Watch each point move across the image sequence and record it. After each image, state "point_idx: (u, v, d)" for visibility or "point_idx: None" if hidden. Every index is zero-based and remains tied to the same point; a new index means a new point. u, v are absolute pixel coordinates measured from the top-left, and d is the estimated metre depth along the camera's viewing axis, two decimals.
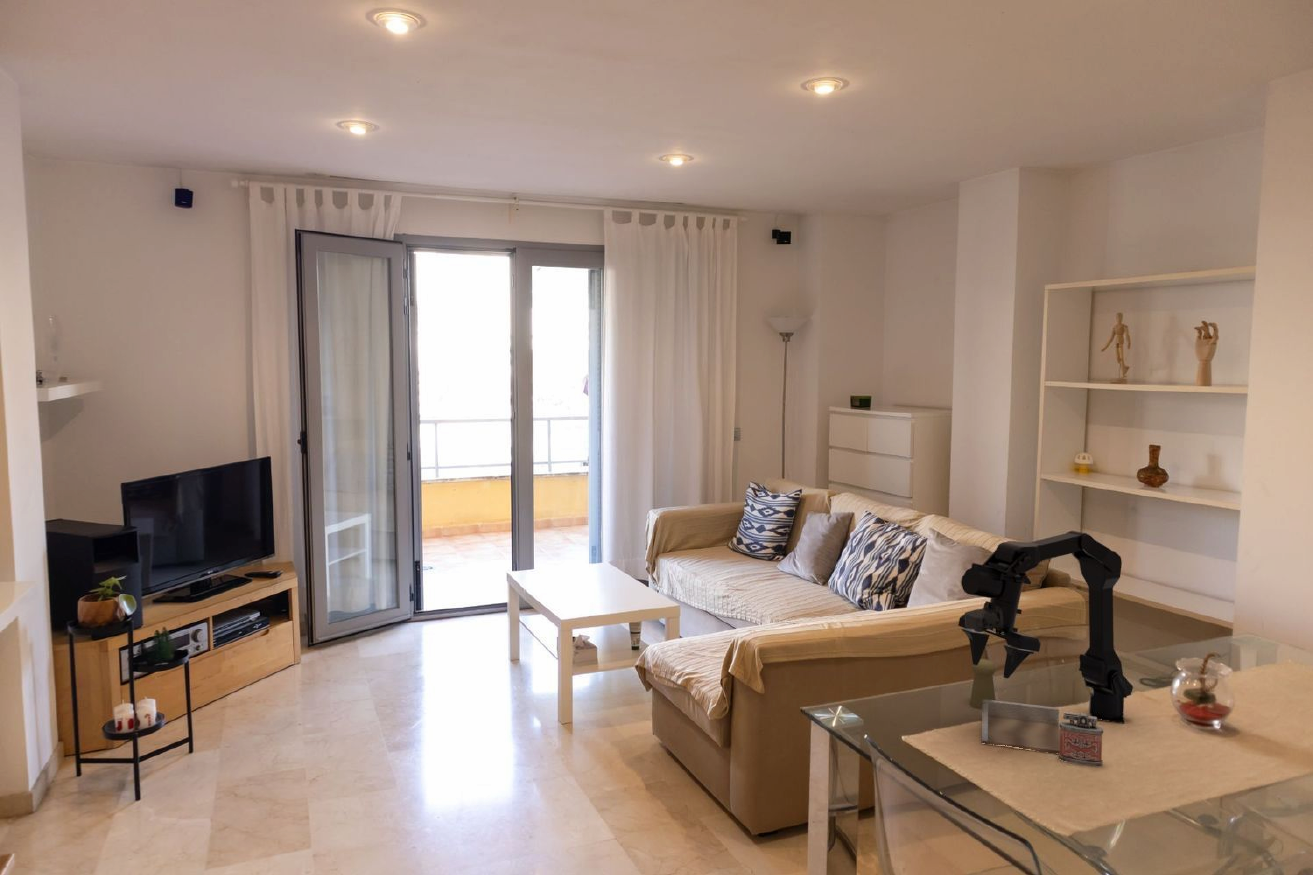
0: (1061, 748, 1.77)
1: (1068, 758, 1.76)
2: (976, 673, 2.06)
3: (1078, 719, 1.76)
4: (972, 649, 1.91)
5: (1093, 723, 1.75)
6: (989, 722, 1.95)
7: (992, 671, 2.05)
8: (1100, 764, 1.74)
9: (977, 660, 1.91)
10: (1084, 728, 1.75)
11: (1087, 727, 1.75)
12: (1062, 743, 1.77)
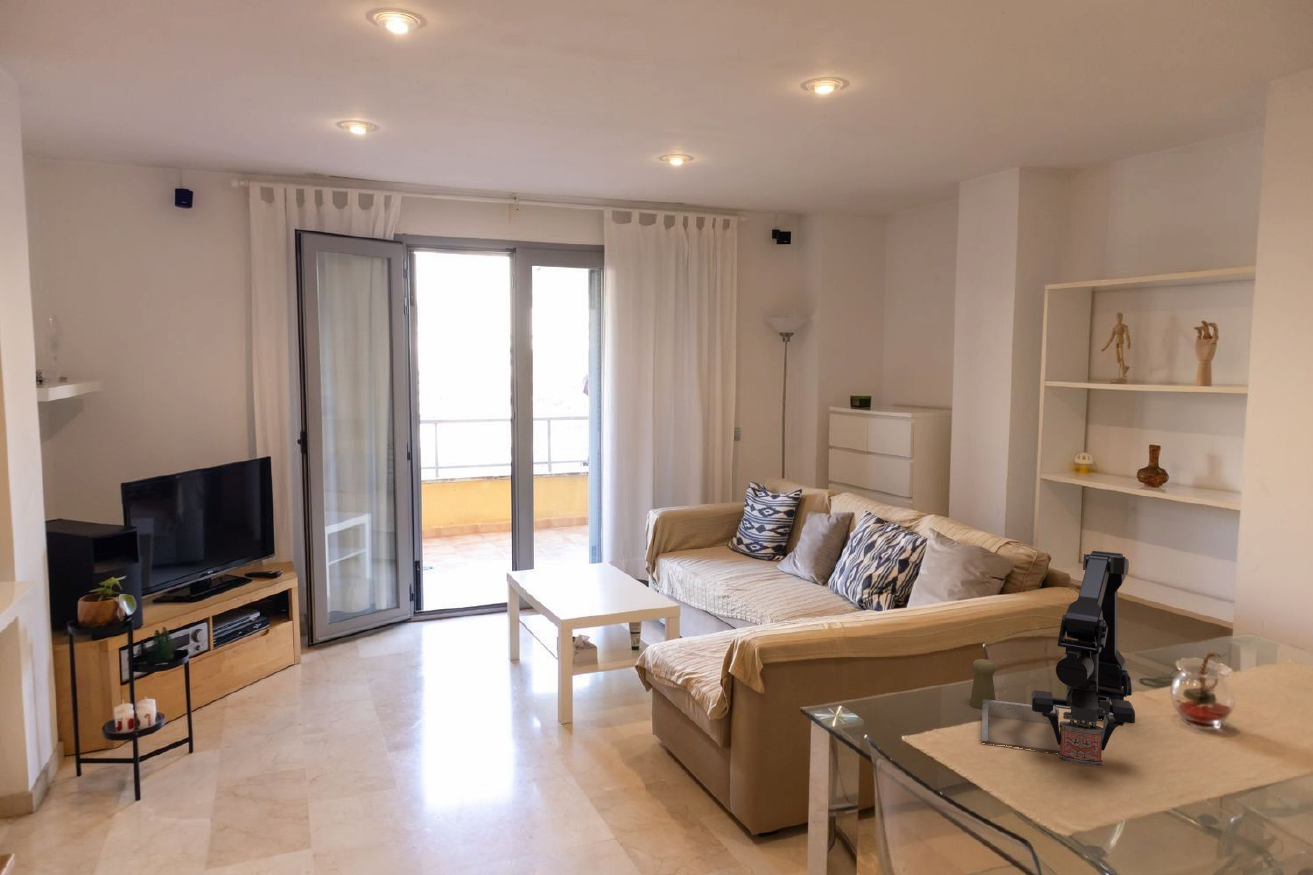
0: (1061, 748, 1.77)
1: (1068, 758, 1.76)
2: (976, 673, 2.06)
3: None
4: (1056, 730, 1.77)
5: (1093, 722, 1.75)
6: (989, 722, 1.95)
7: (992, 671, 2.05)
8: (1100, 764, 1.74)
9: None
10: (1084, 728, 1.75)
11: (1087, 727, 1.75)
12: (1062, 743, 1.77)
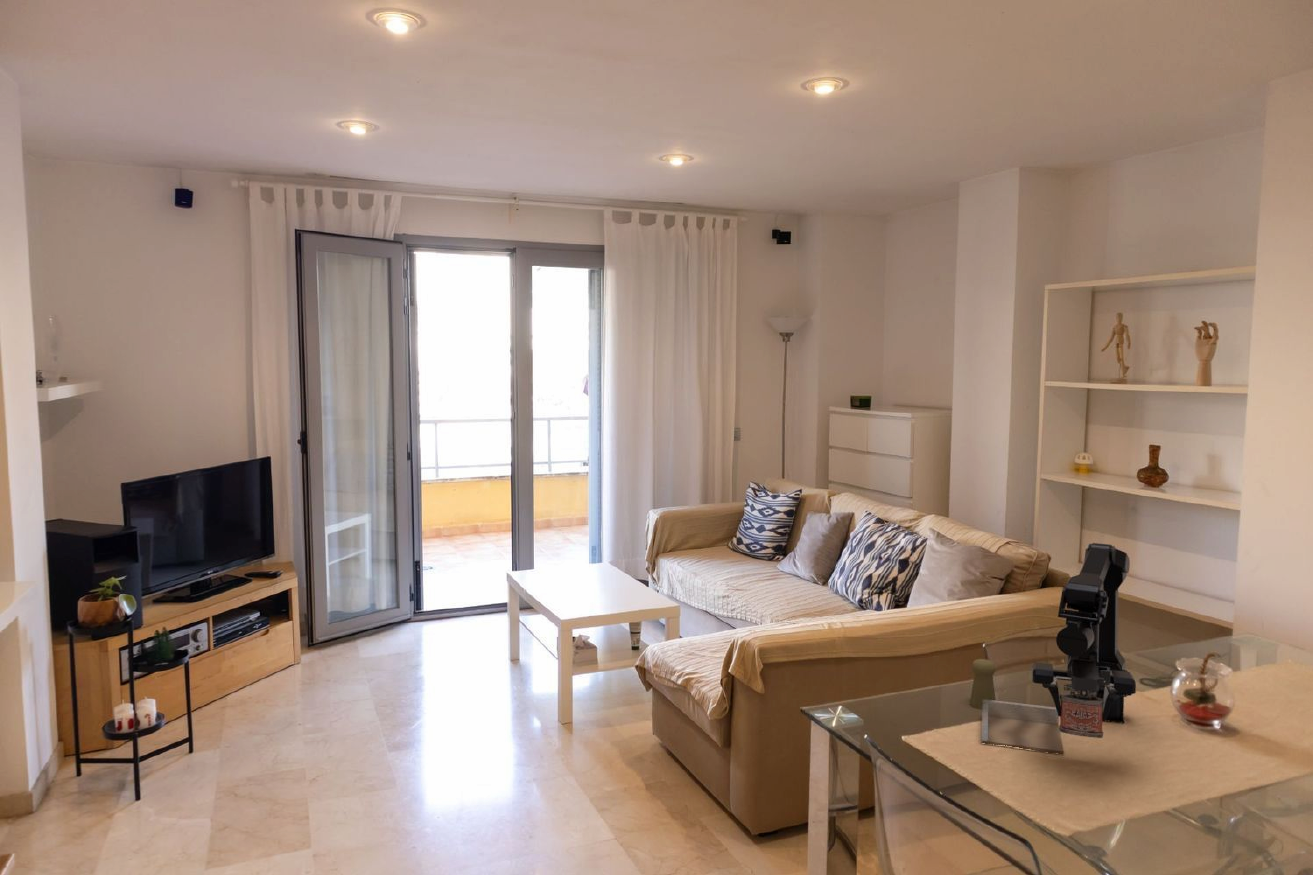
0: (1061, 720, 1.77)
1: (1068, 730, 1.76)
2: (976, 673, 2.06)
3: None
4: (1057, 702, 1.76)
5: (1094, 694, 1.74)
6: (989, 722, 1.95)
7: (992, 671, 2.05)
8: (1101, 735, 1.74)
9: None
10: (1085, 699, 1.74)
11: (1087, 699, 1.74)
12: (1062, 715, 1.76)
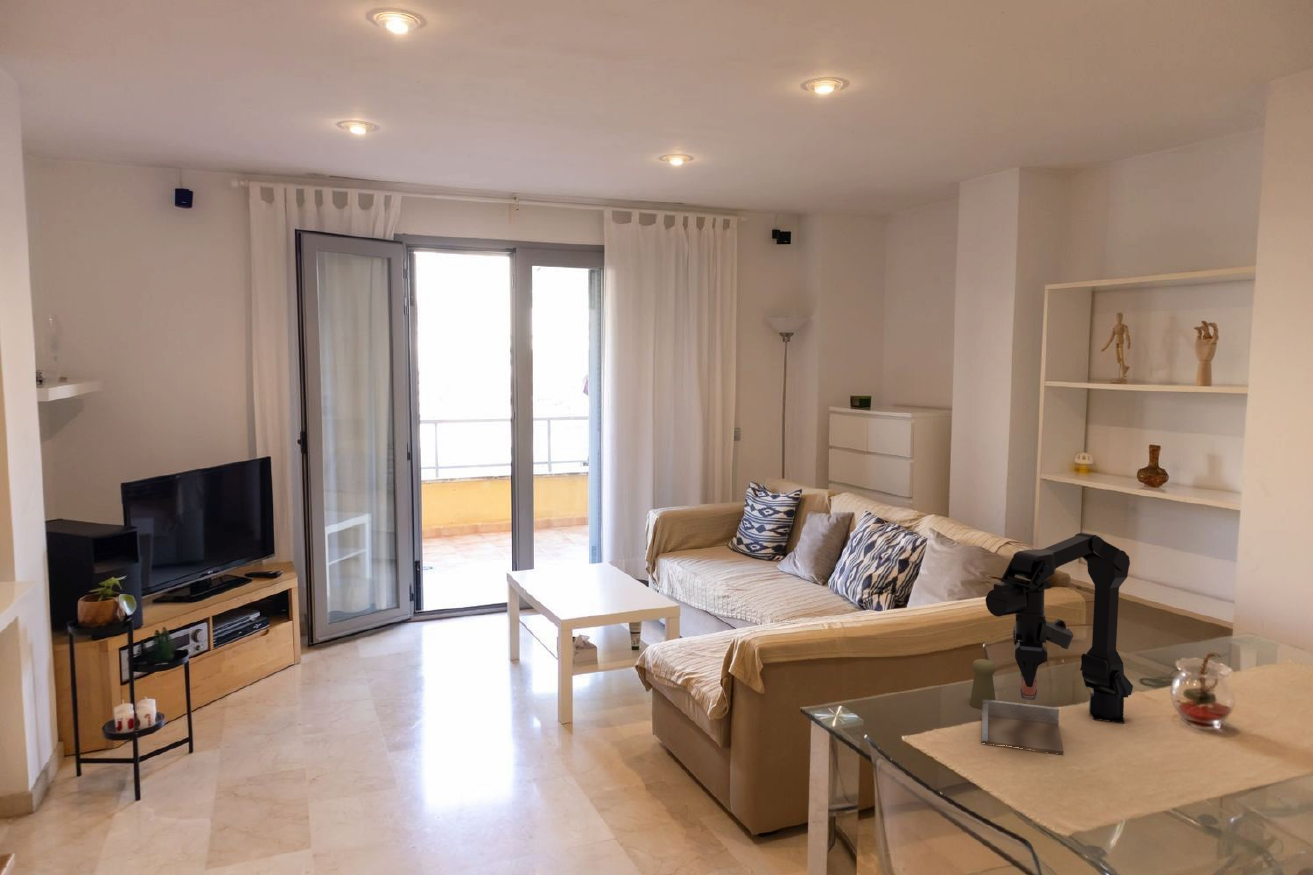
0: (1032, 689, 1.84)
1: (1035, 694, 1.85)
2: (976, 673, 2.06)
3: None
4: (1035, 673, 1.83)
5: None
6: (989, 722, 1.95)
7: (992, 671, 2.05)
8: None
9: None
10: None
11: None
12: None
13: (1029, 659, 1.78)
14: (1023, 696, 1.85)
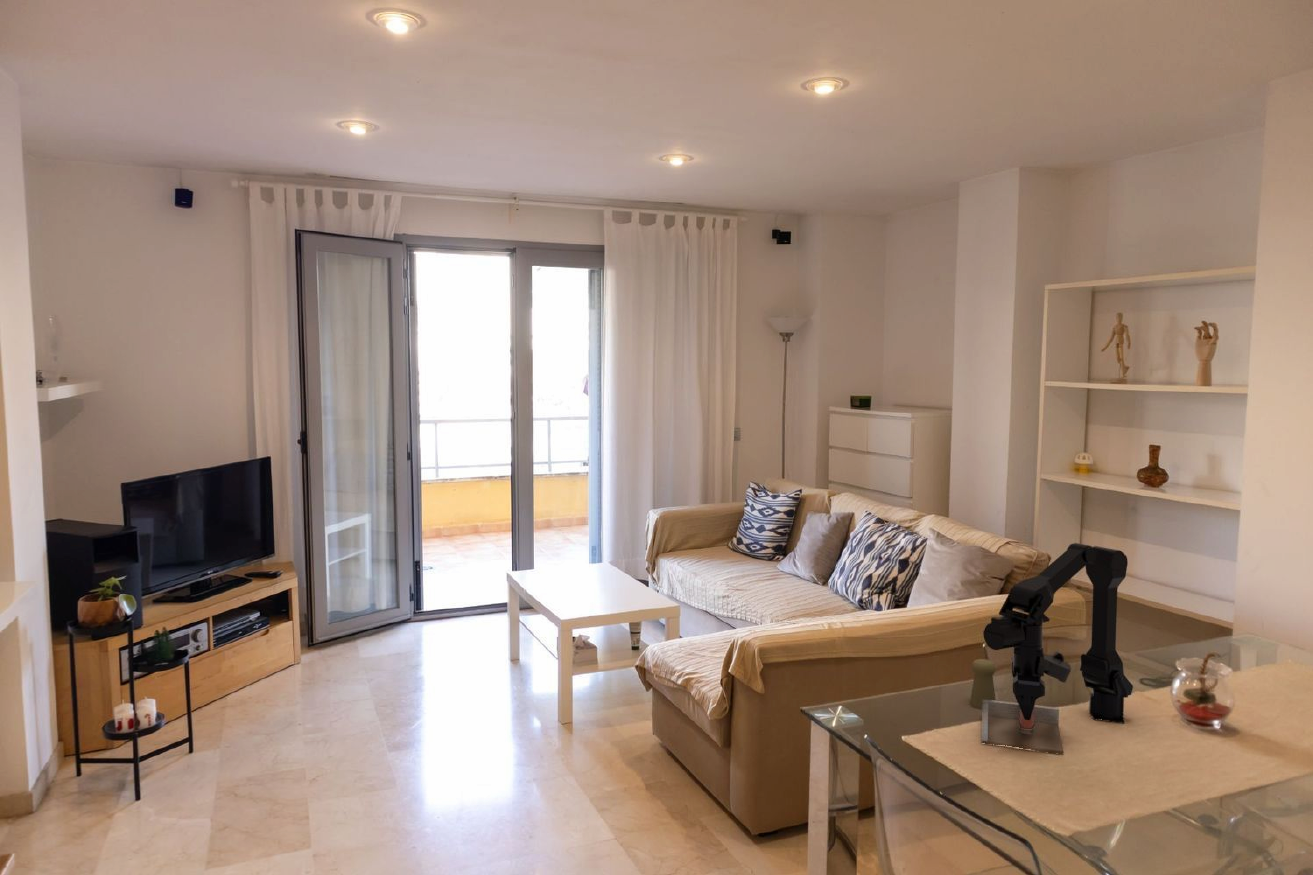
0: (1030, 722, 1.85)
1: (1033, 727, 1.86)
2: (976, 673, 2.06)
3: None
4: None
5: None
6: (989, 722, 1.95)
7: (992, 671, 2.05)
8: None
9: None
10: None
11: None
12: None
13: (1027, 693, 1.79)
14: (1021, 729, 1.86)
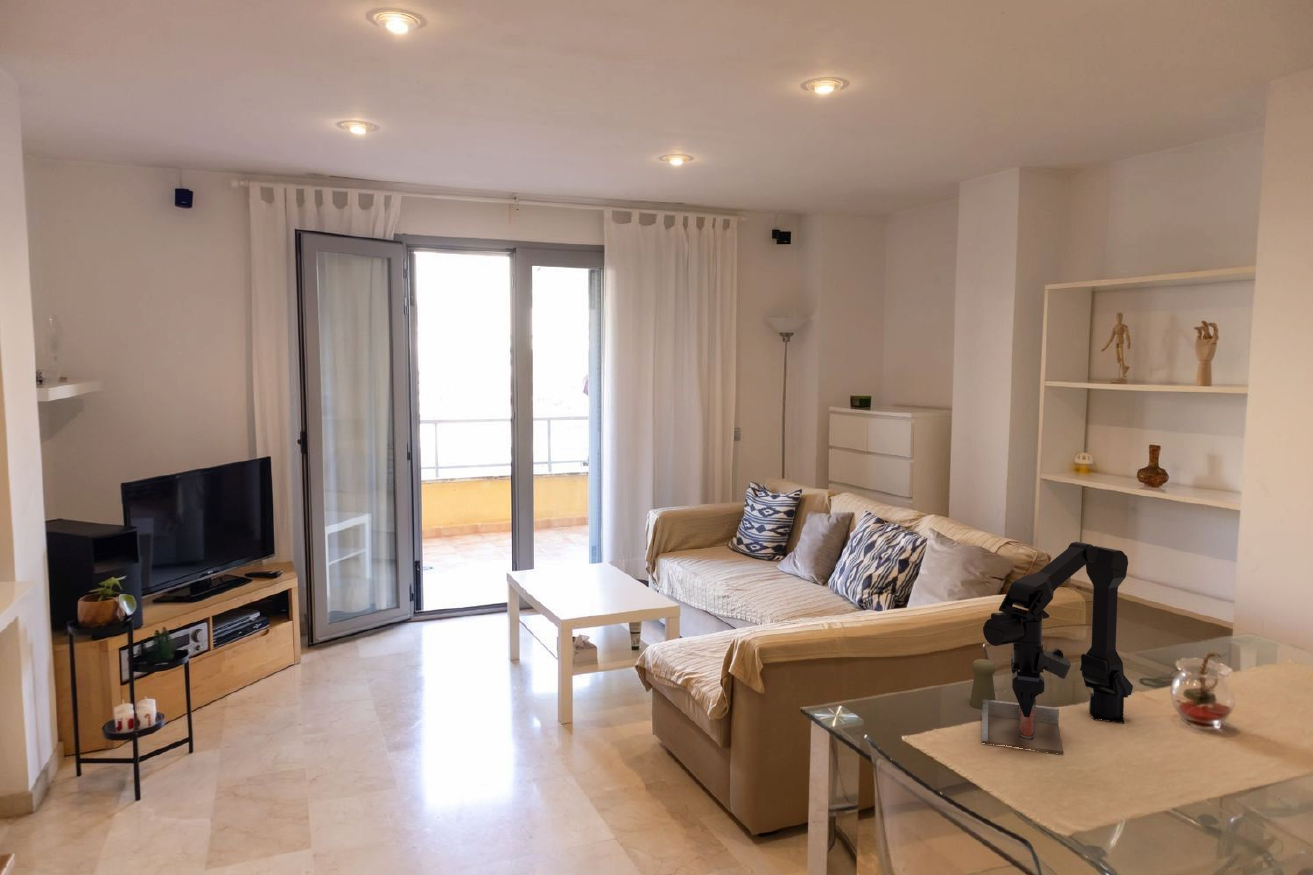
0: (1030, 729, 1.85)
1: (1033, 735, 1.86)
2: (976, 673, 2.06)
3: None
4: (1032, 703, 1.83)
5: None
6: (989, 722, 1.95)
7: (992, 671, 2.05)
8: None
9: None
10: None
11: None
12: (1031, 724, 1.85)
13: (1026, 689, 1.79)
14: (1021, 736, 1.86)
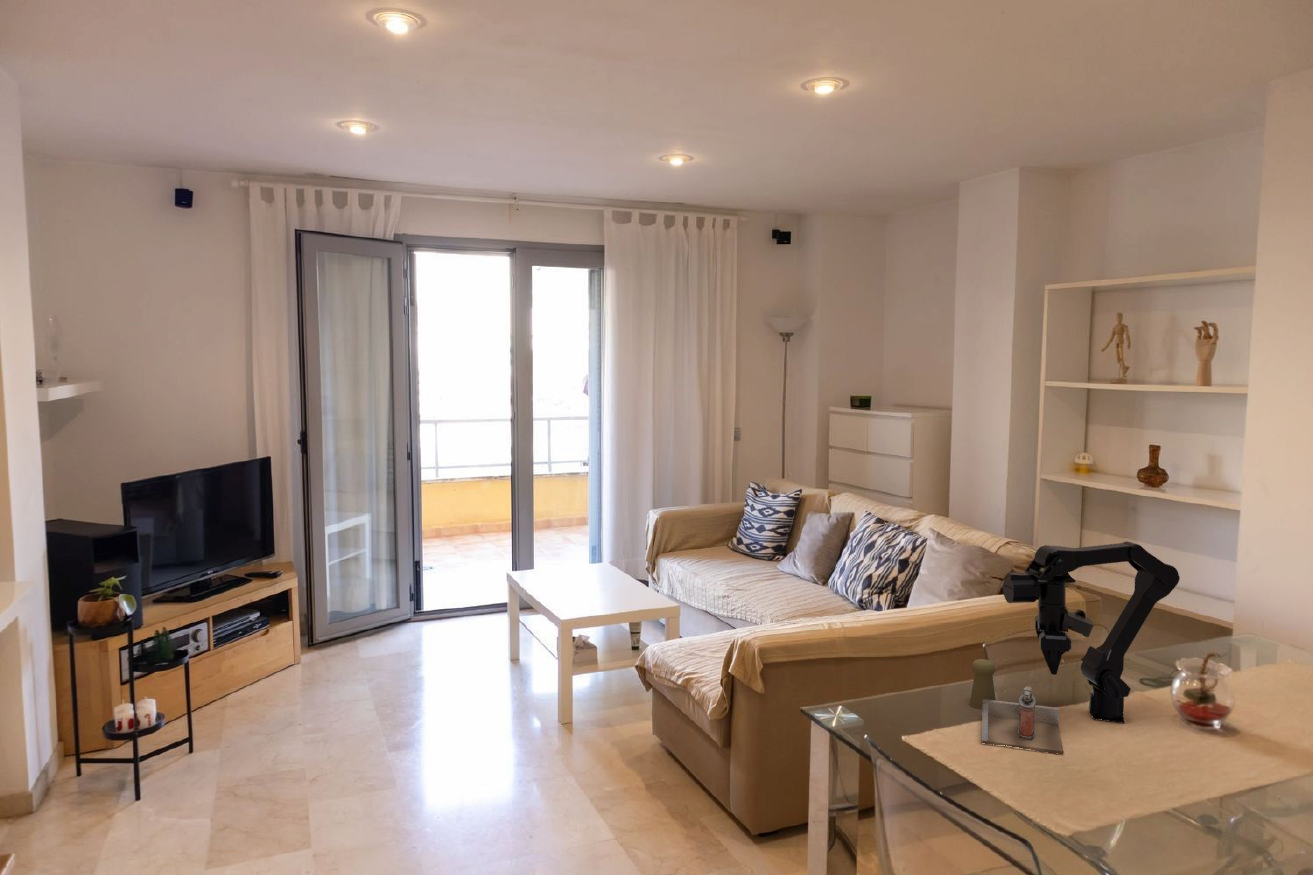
0: (1030, 729, 1.85)
1: (1033, 735, 1.86)
2: (976, 673, 2.06)
3: (1030, 694, 1.87)
4: (1059, 661, 1.93)
5: None
6: (989, 722, 1.95)
7: (992, 671, 2.05)
8: None
9: None
10: (1033, 700, 1.88)
11: (1031, 698, 1.89)
12: (1030, 724, 1.85)
13: (1054, 647, 1.89)
14: (1021, 736, 1.86)
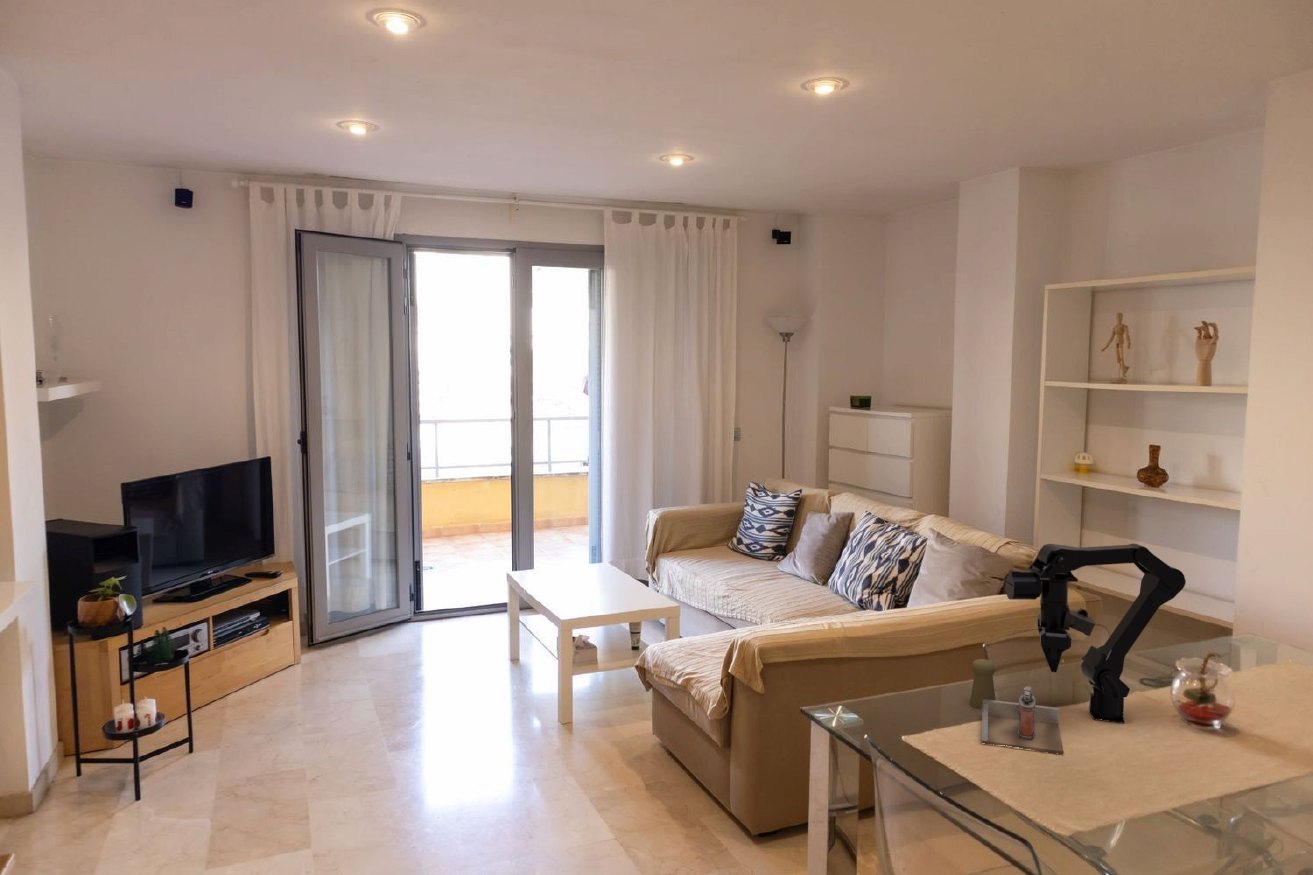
0: (1030, 729, 1.85)
1: (1033, 735, 1.86)
2: (976, 673, 2.06)
3: (1030, 694, 1.87)
4: (1059, 659, 1.94)
5: None
6: (989, 722, 1.95)
7: (992, 671, 2.05)
8: None
9: None
10: (1033, 700, 1.88)
11: (1031, 698, 1.89)
12: (1030, 724, 1.85)
13: (1054, 645, 1.90)
14: (1021, 736, 1.86)
